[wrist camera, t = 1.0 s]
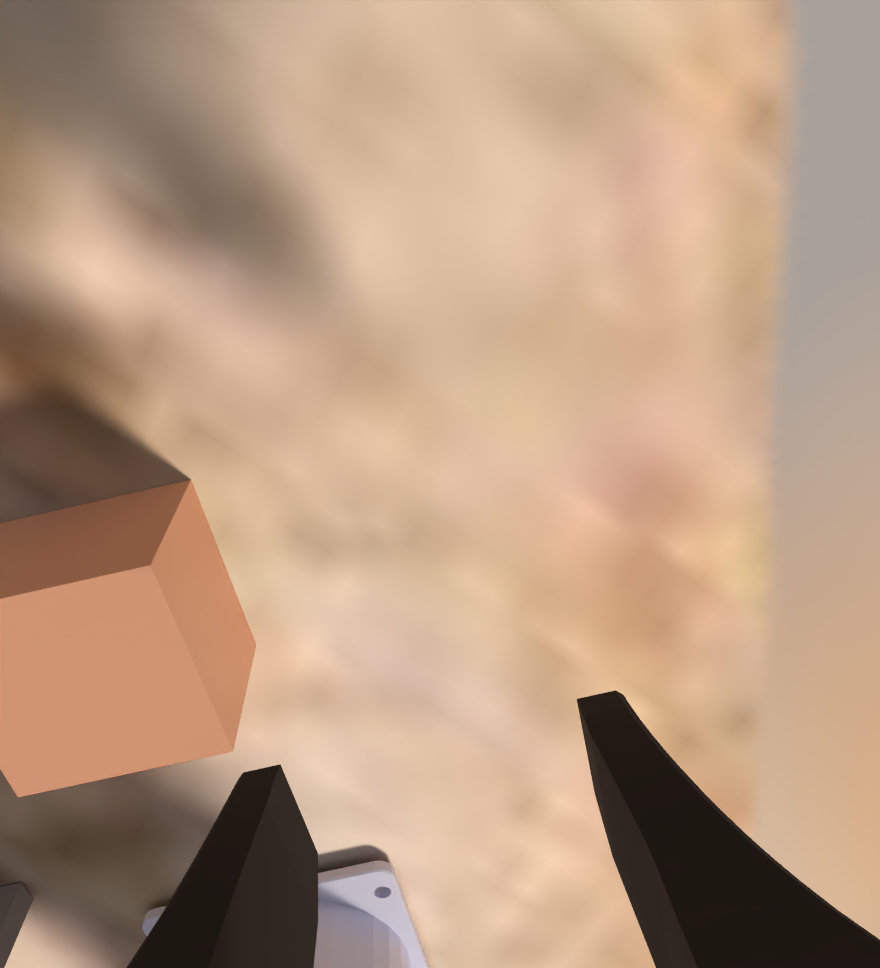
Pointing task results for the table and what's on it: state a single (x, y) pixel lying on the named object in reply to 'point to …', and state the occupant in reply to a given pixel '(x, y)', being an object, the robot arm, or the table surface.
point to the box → (12, 916)
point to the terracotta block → (117, 641)
